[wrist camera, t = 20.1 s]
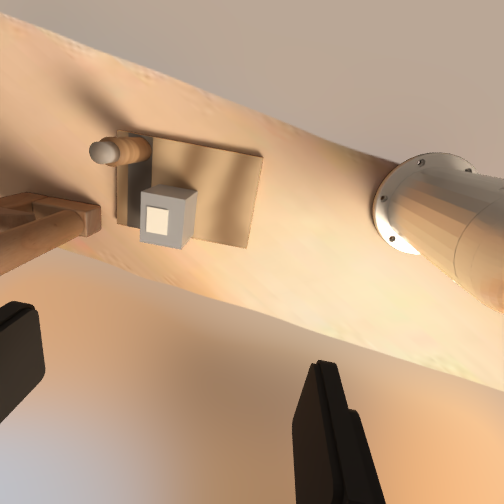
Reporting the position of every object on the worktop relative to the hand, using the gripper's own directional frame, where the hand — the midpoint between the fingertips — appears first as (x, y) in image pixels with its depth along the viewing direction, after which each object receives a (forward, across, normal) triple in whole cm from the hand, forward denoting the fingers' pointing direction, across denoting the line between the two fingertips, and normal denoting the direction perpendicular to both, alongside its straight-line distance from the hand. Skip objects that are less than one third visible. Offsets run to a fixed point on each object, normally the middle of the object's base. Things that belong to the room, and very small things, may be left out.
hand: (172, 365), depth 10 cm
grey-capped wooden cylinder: (+29, +14, -3) cm, 33 cm away
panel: (+30, +8, +1) cm, 31 cm away
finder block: (+29, +9, +4) cm, 31 cm away
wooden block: (+31, +25, +7) cm, 40 cm away
